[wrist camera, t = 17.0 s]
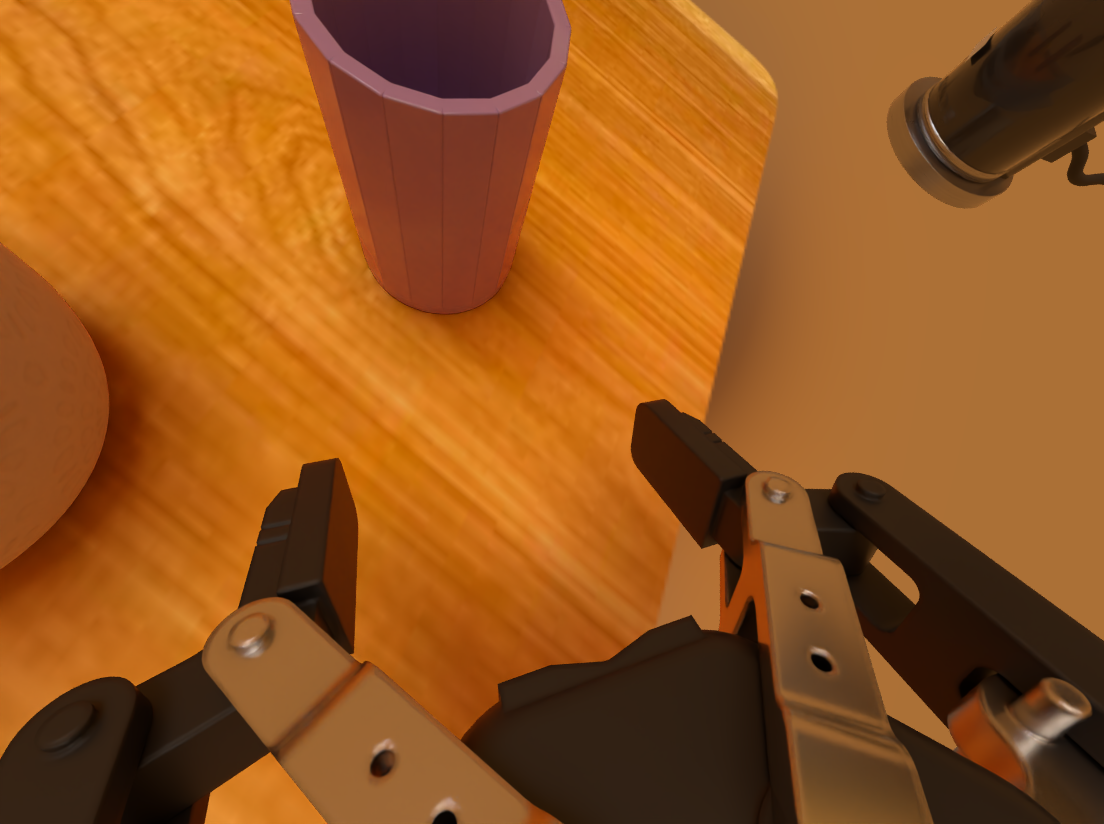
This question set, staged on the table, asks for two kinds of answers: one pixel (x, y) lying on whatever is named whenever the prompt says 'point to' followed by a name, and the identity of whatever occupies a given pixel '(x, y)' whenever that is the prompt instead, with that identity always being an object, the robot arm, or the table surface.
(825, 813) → the robot arm
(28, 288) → the planter
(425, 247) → the lilac cup
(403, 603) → the table surface
